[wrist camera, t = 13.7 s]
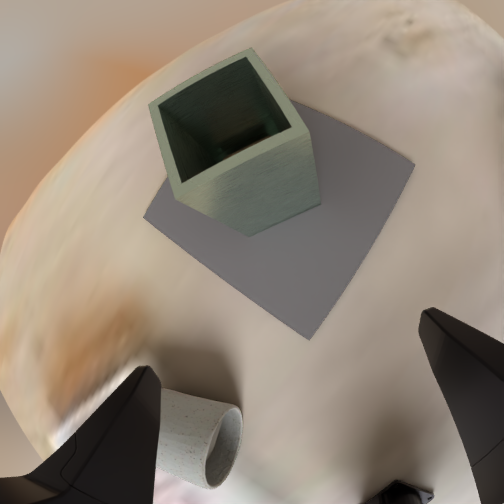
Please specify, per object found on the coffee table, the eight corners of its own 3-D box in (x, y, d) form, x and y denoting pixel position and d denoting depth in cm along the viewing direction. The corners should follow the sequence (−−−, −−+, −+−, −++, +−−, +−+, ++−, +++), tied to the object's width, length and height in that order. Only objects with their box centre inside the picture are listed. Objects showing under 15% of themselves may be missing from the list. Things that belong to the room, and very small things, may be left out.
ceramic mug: (160, 373, 23) (105, 400, 16) (244, 390, 21) (206, 435, 14) (168, 457, 23) (127, 494, 15) (242, 478, 20) (212, 527, 13)
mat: (414, 166, 19) (415, 164, 19) (309, 339, 20) (309, 340, 20) (238, 83, 24) (237, 80, 24) (146, 218, 25) (142, 217, 25)
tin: (321, 204, 20) (309, 131, 10) (249, 237, 22) (175, 199, 11) (288, 141, 22) (251, 47, 11) (223, 173, 23) (148, 104, 12)
